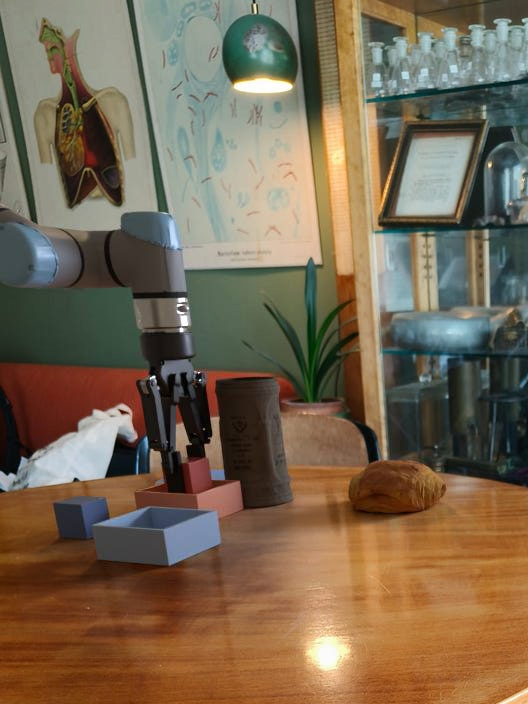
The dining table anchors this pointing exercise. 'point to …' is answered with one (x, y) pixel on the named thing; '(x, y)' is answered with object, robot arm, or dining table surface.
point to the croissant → (395, 487)
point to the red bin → (195, 498)
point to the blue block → (80, 516)
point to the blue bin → (156, 535)
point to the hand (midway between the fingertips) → (189, 490)
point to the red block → (194, 475)
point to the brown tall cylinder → (253, 439)
